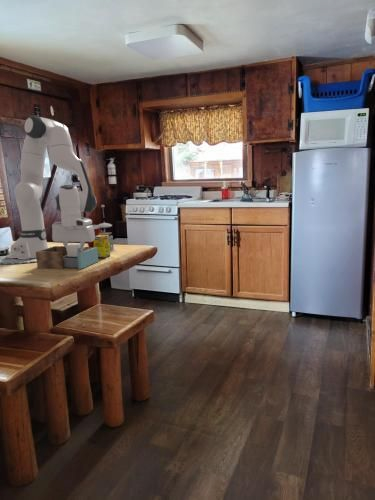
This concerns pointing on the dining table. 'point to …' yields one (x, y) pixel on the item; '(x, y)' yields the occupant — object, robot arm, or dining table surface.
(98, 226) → the french press
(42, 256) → the brown wooden crate
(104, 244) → the yellow cylinder
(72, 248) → the block
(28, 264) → the dining table surface
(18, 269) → the dining table surface
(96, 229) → the plastic cup
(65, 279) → the dining table surface
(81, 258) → the tray
